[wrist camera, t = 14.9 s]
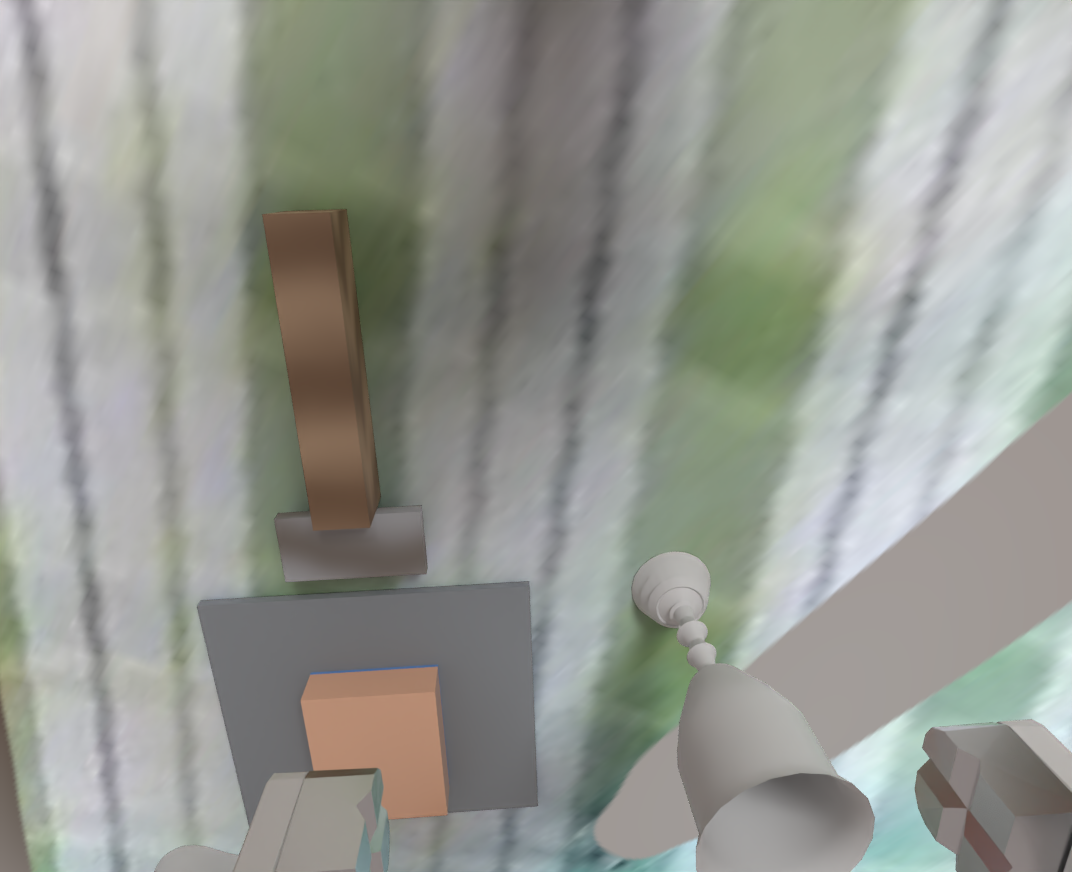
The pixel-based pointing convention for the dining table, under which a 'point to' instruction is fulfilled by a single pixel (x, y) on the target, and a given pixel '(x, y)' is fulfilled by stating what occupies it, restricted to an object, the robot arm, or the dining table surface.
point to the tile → (383, 732)
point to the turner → (332, 412)
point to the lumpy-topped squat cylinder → (197, 860)
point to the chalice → (749, 752)
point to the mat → (382, 642)
